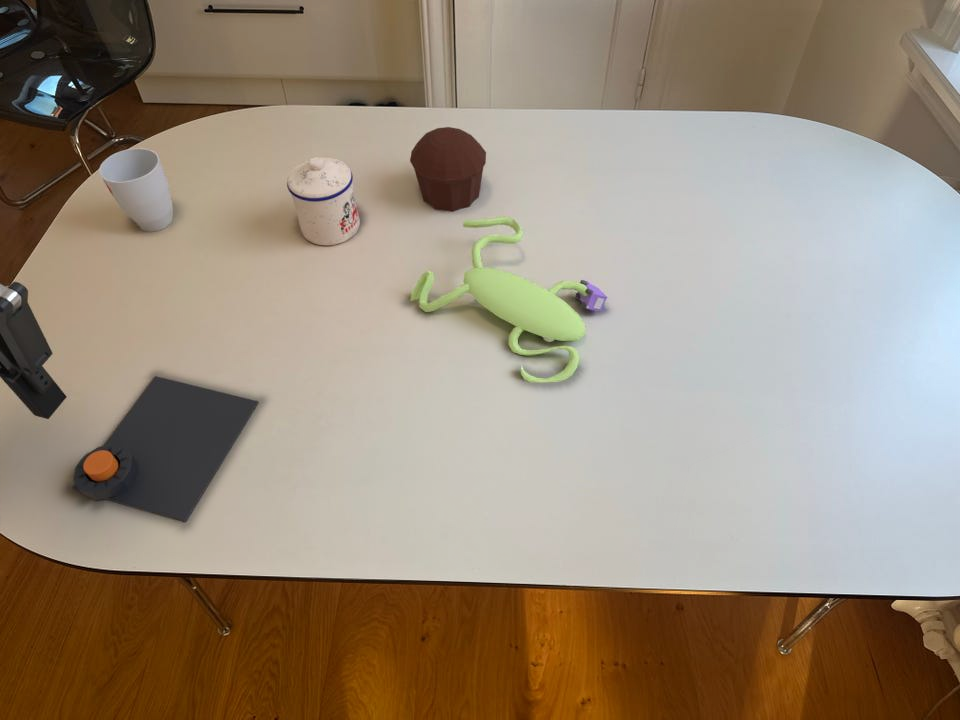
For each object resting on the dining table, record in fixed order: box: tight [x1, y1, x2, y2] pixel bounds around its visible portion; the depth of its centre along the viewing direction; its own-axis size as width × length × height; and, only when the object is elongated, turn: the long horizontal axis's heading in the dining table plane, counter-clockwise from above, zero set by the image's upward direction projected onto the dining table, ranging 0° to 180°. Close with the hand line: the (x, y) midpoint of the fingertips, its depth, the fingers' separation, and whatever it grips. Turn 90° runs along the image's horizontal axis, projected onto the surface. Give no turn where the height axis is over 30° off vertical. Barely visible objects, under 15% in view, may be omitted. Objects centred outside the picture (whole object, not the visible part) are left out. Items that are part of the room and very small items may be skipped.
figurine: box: [409, 215, 608, 384], centre depth 91 cm, size 18×27×6 cm
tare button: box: [83, 450, 118, 481], centre depth 75 cm, size 3×3×2 cm
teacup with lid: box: [286, 156, 361, 246], centre depth 101 cm, size 12×9×12 cm
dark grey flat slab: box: [71, 375, 260, 523], centre depth 79 cm, size 14×16×3 cm
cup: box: [98, 147, 174, 233], centre depth 103 cm, size 8×8×10 cm
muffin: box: [409, 126, 487, 213], centre depth 105 cm, size 12×11×10 cm
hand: (50, 405), depth 67 cm, fingers closed
